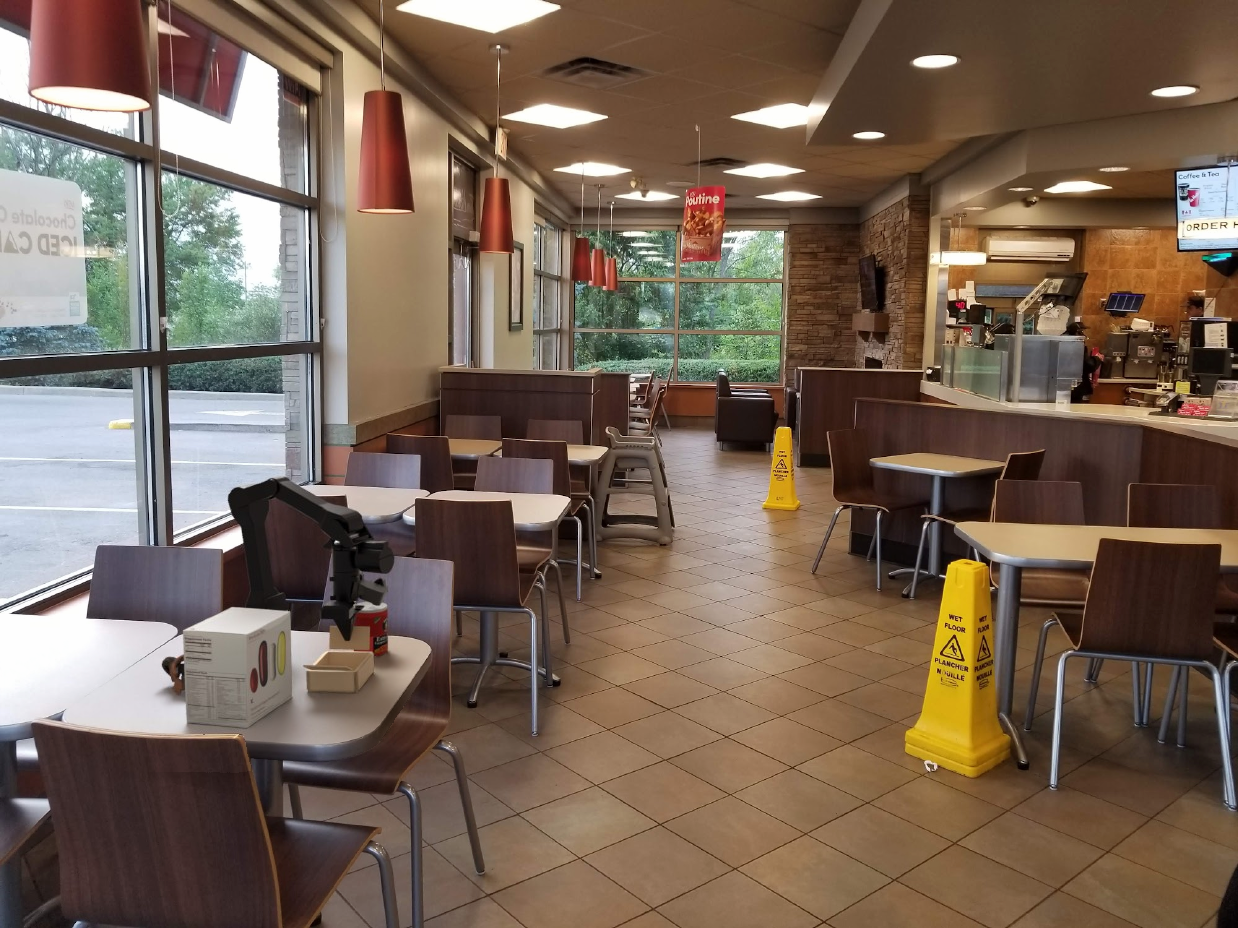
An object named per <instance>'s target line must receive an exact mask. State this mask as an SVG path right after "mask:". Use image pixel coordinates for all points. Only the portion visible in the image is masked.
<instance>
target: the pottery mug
mask: <svg viewBox="0 0 1238 928" xmlns="http://www.w3.org/2000/svg"><path fill="white" fill-rule="evenodd" d="M161 667H162V669H163V671H164V672H165V673H166V674H167V675H168V676H169V677H170V680H171V683H173V687H172V691H173V693H175V694H176V695H178V696H180V695H181V693H182V692H185V671H184V653H183V654H181V655H179V656H178V657H175V656H166V657H165V658H164V659H163V660H162V661H161Z"/></svg>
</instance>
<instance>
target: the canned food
mask: <svg viewBox="0 0 1238 928" xmlns="http://www.w3.org/2000/svg"><path fill="white" fill-rule="evenodd" d="M358 605H364V606H365V607H364V608H363V609H362V610H361V611H360V612H359V613H358V614H357V615H356V619H355V623H354V626H363V627H370V636H369V650H353V651H356V652H373V653H374V657H380V656H383V655H385V654H386V653H388V649H389V624H388V623H389V616H388V615H389V612H388V610H389V609H388V604H387V603H385V602H383V603H381V605H380V606H375V605H373V604H372V603H370V602H367V601H363V602H358Z"/></svg>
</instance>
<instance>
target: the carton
mask: <svg viewBox="0 0 1238 928" xmlns="http://www.w3.org/2000/svg"><path fill="white" fill-rule="evenodd" d="M374 657H375V656H374V653H373V652H356V651H354V650H351V651H350V650H346V651H345V650H342V651H341V650H326V651H324V652H323V653H322V654H320V656H319V657H318V658H317V659H316V660H315V661H314V662H313V663H312V664H311V665H330V666H348V667H350V668H351V669H353V671H343V670H310V669H307V668H306V671H305V673H306V674H305V675H306V679H305V680H306V690H307V693H319V694H320V693H324V694H325V693H326V694H327V693H329V694H330V693H331V694H332V693H333V694H357V693H358V692H359V691H360V690H361V688H362V687H363V686H364V685H365V683H366V682H367V680H368V679H369V678H370V677H371V675H372V674H373V672H374V671H375V662H374V661H375V659H374ZM358 690H359V691H358Z"/></svg>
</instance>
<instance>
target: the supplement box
mask: <svg viewBox="0 0 1238 928" xmlns="http://www.w3.org/2000/svg"><path fill="white" fill-rule="evenodd" d="M291 625H292V623H291V611H290V610H289V611H288V610H286V611H279V610H266V609H253V608H246V607H235V606H231V607H229V608H227V609H225V610H223V611H221V612H219V613H217V614H214V615H213V616H212V615H211V616H210V617H208V618H206V619H204V620H202V621H200V622H197V623H195V624H193V625H192V626H189V627H186V628H185V629H183V630H182V641H183V654H184V661H183V663H184V671H185V691H184V692H185V711H186V712H185V714H186V715H185V716H186V723H189V724H191V723H192V724H201V725H202V724H203V725H209V726H211V725H212V726H213V725H214V726H223V727H232V728H242V729H249V727H251V726H252V725H253V724H255V723H257V722H258V721H259V720H261V719H262V718H264V717H265V716H266V715H268V714H270V713H271V712H272V711H274V710H275V709H277V708H278V707H280V706H281V705H283V704H284V703H286V702H287V701H289V700H290V699H292V698H293V675H292V674H293V673H292V672H293V670H292V669H293V667H292V664H293V663H292V660H293V659H292V630H291V629H292V628H291Z"/></svg>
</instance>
